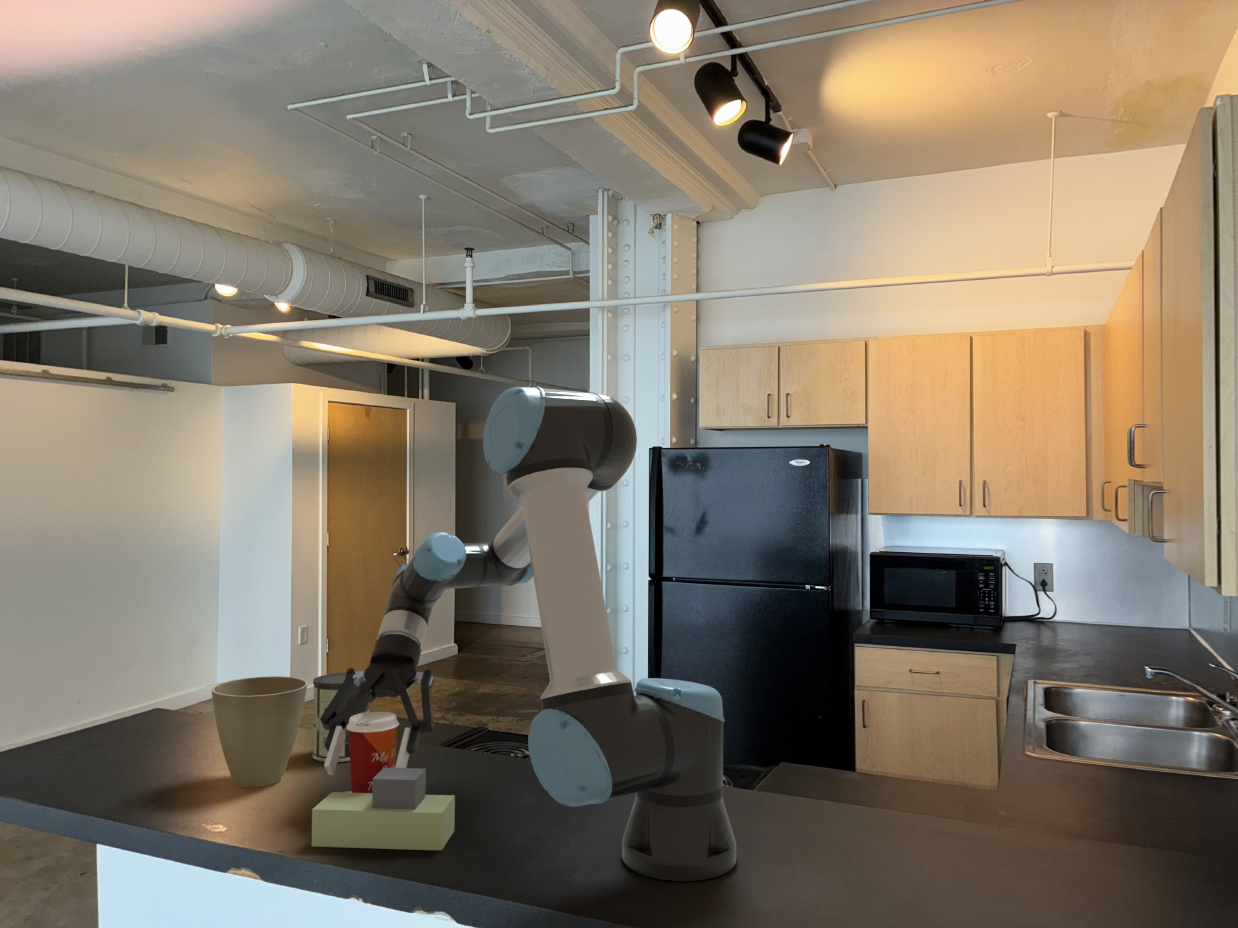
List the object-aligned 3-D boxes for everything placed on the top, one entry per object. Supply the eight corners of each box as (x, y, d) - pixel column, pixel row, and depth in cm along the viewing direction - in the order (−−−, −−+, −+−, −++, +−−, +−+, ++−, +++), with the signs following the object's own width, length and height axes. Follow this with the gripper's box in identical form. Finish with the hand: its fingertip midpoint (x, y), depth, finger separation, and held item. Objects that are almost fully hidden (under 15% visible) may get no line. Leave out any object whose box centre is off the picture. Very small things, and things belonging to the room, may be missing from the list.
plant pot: (188, 791, 142) (191, 691, 143) (248, 764, 157) (249, 674, 157) (270, 799, 139) (272, 697, 139) (323, 771, 153) (324, 678, 154)
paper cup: (384, 821, 128) (385, 724, 128) (335, 818, 129) (336, 721, 130) (407, 803, 135) (408, 711, 136) (361, 800, 137) (361, 709, 137)
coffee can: (367, 744, 170) (369, 670, 170) (372, 759, 160) (373, 681, 161) (311, 749, 166) (312, 673, 167) (312, 765, 157) (313, 684, 157)
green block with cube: (470, 806, 136) (471, 747, 137) (441, 850, 119) (442, 782, 120) (344, 802, 138) (345, 744, 138) (298, 845, 121) (299, 779, 121)
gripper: (469, 659, 148) (444, 785, 131) (338, 657, 149) (296, 781, 133) (462, 632, 143) (435, 760, 126) (326, 630, 144) (281, 756, 128)
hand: (364, 771), depth 129 cm, fingers open, 10 cm apart
